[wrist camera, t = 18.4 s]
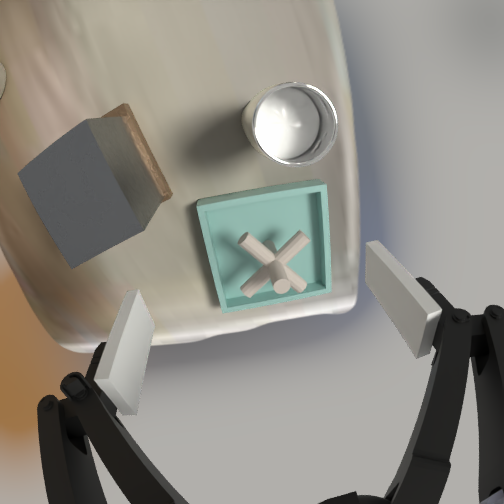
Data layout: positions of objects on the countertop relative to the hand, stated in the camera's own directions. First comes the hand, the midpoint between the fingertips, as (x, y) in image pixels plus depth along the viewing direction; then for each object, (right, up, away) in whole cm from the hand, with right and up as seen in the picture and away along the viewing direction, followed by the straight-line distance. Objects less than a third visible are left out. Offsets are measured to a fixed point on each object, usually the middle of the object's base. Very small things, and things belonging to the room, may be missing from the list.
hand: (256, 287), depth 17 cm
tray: (+2, +3, +24) cm, 25 cm away
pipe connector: (+2, +3, +24) cm, 24 cm away
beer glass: (+2, +18, +17) cm, 25 cm away
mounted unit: (-17, +12, +18) cm, 28 cm away
